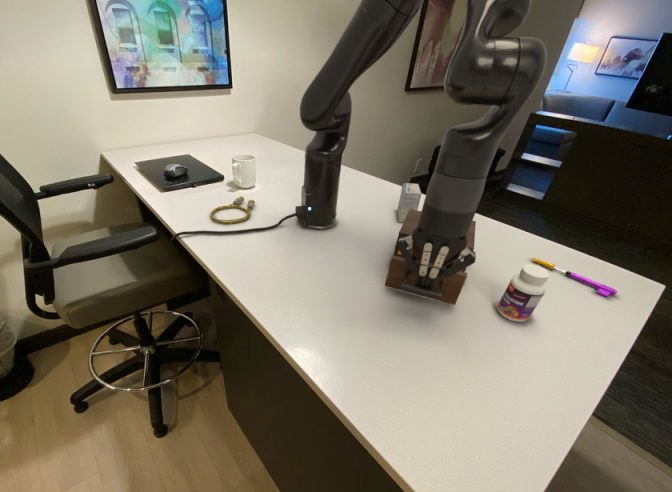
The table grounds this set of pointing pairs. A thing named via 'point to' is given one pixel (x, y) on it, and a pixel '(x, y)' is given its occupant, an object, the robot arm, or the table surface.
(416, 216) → the cabinet
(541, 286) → the pill bottle
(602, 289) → the purple and yellow rod
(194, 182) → the table surface
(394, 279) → the drawer
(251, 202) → the coiled yellow cable
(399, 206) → the medicine box
